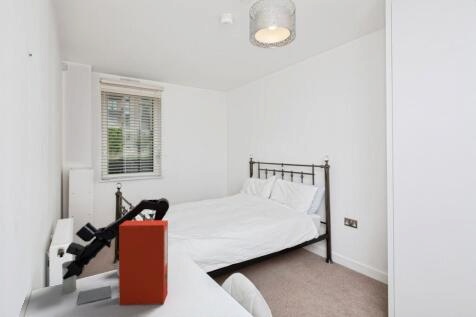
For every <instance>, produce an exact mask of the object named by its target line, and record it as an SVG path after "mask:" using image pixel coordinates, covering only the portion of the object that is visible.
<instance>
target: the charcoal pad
mask: <svg viewBox="0 0 476 317" xmlns="http://www.w3.org/2000/svg"><path fill="white" fill-rule="evenodd" d="M108 299H112V286H111V285H110V284H109V285H105V286H100V287H96V288H91V289H86V290H82V291H79V294H78V300H77V306H82V305H86V304H91V303H95V302H99V301H103V300H108Z"/></svg>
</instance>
